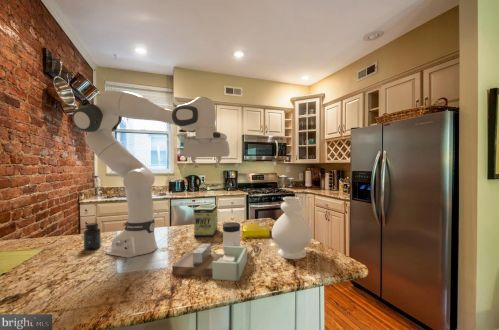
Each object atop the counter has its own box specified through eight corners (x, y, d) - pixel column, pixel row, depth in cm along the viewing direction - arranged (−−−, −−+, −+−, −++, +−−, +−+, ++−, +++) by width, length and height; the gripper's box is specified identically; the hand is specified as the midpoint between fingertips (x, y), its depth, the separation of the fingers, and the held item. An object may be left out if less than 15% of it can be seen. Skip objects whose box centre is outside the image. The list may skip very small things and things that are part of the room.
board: (172, 274, 84) (172, 266, 84) (187, 259, 97) (187, 252, 97) (213, 277, 81) (213, 268, 81) (223, 261, 94) (223, 254, 94)
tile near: (212, 267, 81) (215, 262, 81) (217, 261, 86) (220, 257, 86) (223, 276, 80) (226, 271, 80) (228, 270, 85) (231, 265, 85)
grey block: (193, 264, 85) (192, 252, 85) (202, 254, 95) (202, 243, 95) (202, 265, 84) (201, 253, 84) (210, 254, 94) (210, 243, 94)
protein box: (194, 237, 126) (193, 209, 126) (201, 229, 141) (200, 204, 141) (212, 237, 125) (212, 209, 125) (217, 229, 141) (217, 204, 141)
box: (212, 279, 80) (212, 262, 80) (224, 260, 95) (224, 245, 95) (238, 281, 78) (238, 263, 78) (247, 261, 94) (246, 247, 94)
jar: (227, 254, 101) (227, 227, 101) (219, 249, 108) (219, 223, 108) (244, 250, 106) (244, 224, 106) (235, 245, 113) (235, 221, 113)
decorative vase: (298, 244, 113) (297, 194, 113) (321, 257, 96) (320, 199, 96) (265, 249, 107) (264, 196, 107) (283, 264, 90) (283, 202, 90)
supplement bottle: (80, 251, 108) (80, 225, 108) (90, 245, 115) (89, 222, 115) (95, 250, 108) (94, 225, 108) (103, 245, 115) (103, 222, 115)
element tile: (243, 230, 140) (243, 222, 140) (267, 230, 140) (267, 222, 140) (242, 238, 125) (242, 229, 125) (269, 237, 125) (269, 229, 125)
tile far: (220, 265, 89) (220, 260, 89) (223, 260, 94) (223, 255, 94) (233, 266, 88) (233, 260, 88) (235, 260, 93) (235, 255, 93)
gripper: (179, 135, 96) (180, 168, 96) (226, 133, 93) (227, 167, 93) (186, 137, 102) (186, 167, 102) (230, 135, 99) (230, 167, 99)
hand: (206, 167), depth 98 cm, fingers open, 8 cm apart
